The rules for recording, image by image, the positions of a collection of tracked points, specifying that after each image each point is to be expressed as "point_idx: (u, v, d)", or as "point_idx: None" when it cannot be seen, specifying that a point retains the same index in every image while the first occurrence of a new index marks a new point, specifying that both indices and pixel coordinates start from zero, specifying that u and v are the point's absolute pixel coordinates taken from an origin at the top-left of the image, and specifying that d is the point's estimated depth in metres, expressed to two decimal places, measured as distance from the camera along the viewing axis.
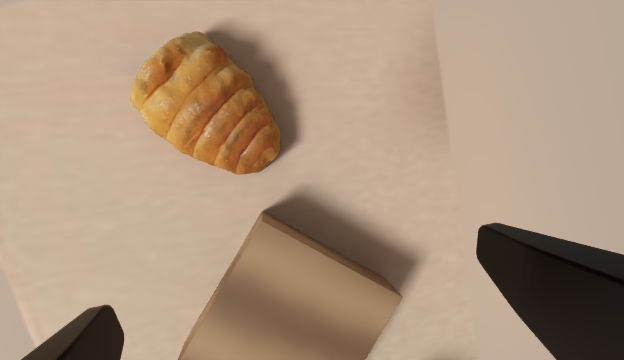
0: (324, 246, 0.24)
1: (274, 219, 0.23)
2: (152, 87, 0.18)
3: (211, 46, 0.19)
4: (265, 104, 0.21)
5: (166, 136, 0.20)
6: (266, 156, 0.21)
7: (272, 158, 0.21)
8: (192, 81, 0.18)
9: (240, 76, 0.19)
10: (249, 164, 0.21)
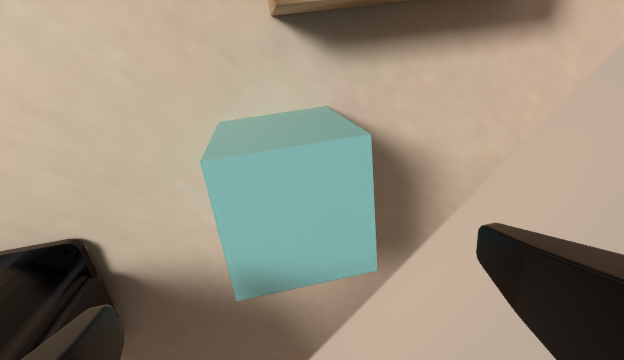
0: None
1: None
2: None
3: None
4: None
5: None
6: None
7: None
8: None
9: None
10: None
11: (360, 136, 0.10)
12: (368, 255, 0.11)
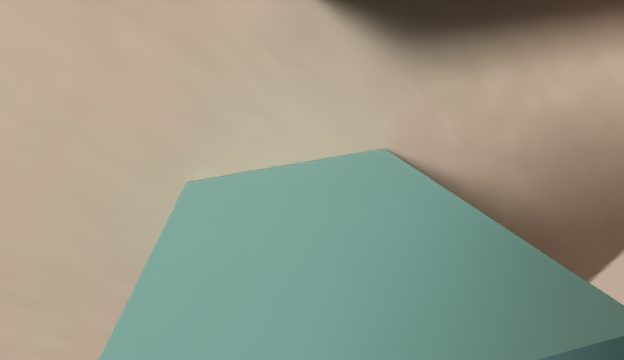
0: None
1: None
2: None
3: None
4: None
5: None
6: None
7: None
8: None
9: None
10: None
11: (621, 333, 0.03)
12: None
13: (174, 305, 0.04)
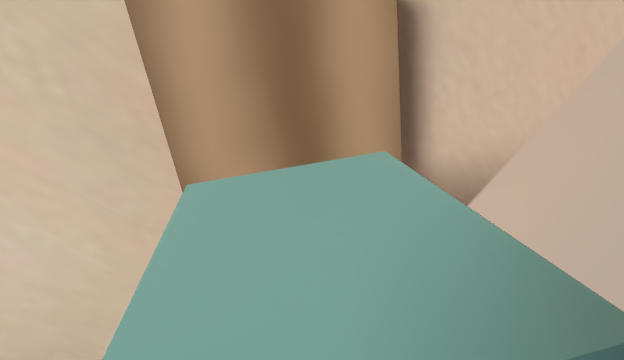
0: None
1: None
2: None
3: None
4: None
5: None
6: None
7: None
8: None
9: None
10: None
11: (622, 340, 0.03)
12: None
13: (174, 310, 0.04)
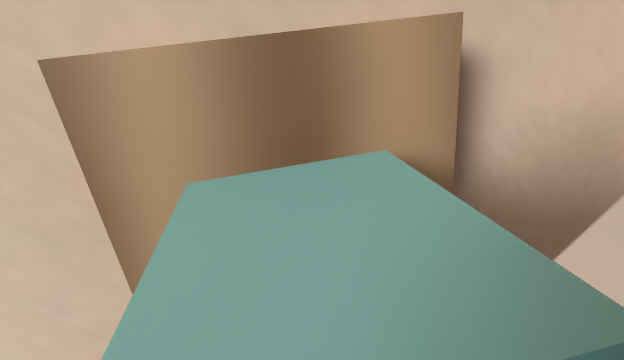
0: None
1: None
2: None
3: None
4: None
5: None
6: None
7: None
8: None
9: None
10: None
11: None
12: None
13: (174, 309, 0.04)
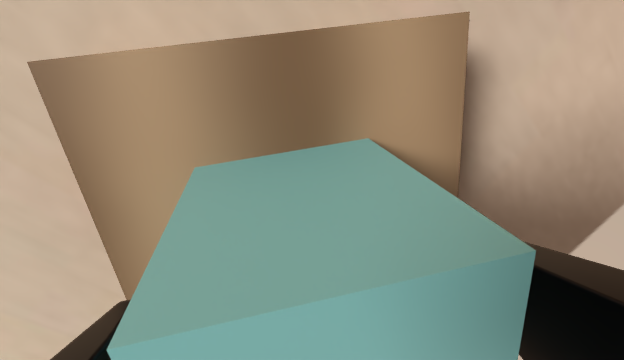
0: None
1: None
2: None
3: None
4: None
5: None
6: None
7: None
8: None
9: None
10: None
11: (511, 254, 0.04)
12: None
13: (191, 250, 0.05)
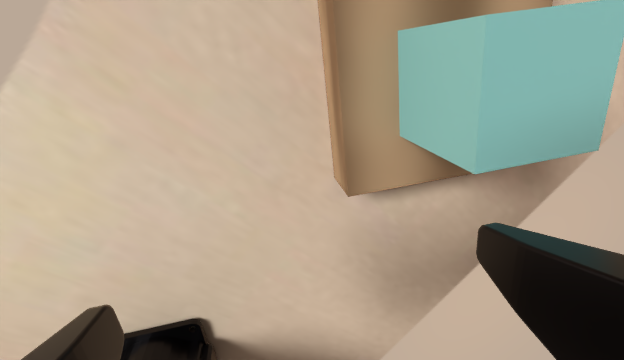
0: None
1: None
2: None
3: None
4: None
5: None
6: None
7: None
8: None
9: None
10: None
11: None
12: (595, 132, 0.12)
13: None
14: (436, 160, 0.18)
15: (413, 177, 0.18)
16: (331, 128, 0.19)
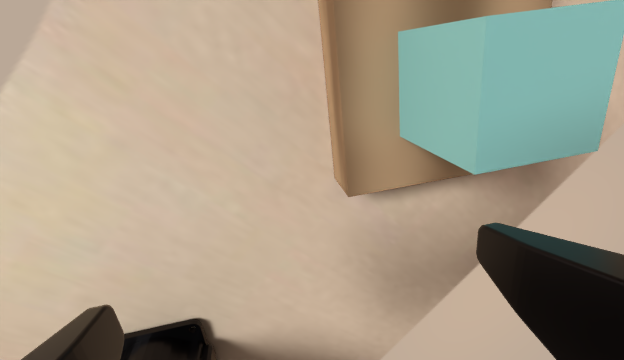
0: None
1: None
2: None
3: None
4: None
5: None
6: None
7: None
8: None
9: None
10: None
11: None
12: (594, 133, 0.12)
13: None
14: (435, 160, 0.18)
15: (413, 177, 0.18)
16: (331, 128, 0.19)
